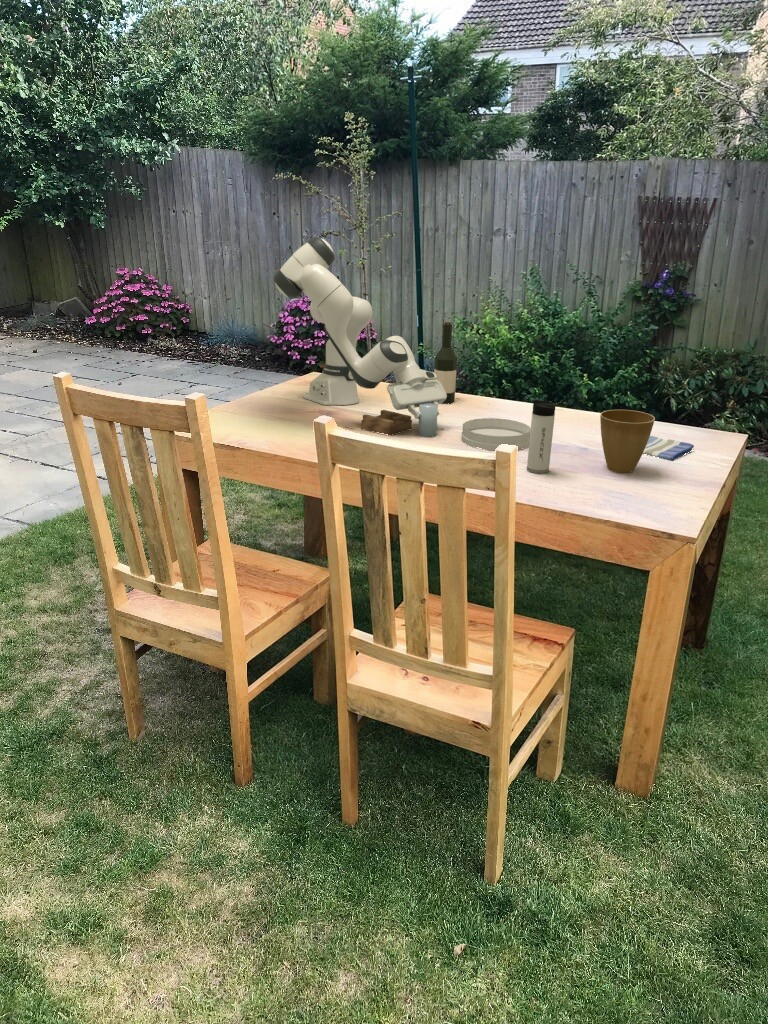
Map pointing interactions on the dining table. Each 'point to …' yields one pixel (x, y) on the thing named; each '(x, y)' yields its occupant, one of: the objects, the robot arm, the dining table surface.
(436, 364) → the wine bottle
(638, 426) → the plant pot
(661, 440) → the dish towel
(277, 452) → the dining table surface
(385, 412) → the chest
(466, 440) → the dish
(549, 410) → the travel mug
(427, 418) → the grey domed cylinder
